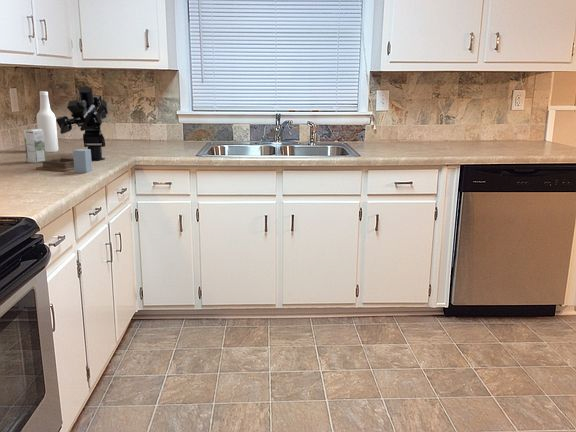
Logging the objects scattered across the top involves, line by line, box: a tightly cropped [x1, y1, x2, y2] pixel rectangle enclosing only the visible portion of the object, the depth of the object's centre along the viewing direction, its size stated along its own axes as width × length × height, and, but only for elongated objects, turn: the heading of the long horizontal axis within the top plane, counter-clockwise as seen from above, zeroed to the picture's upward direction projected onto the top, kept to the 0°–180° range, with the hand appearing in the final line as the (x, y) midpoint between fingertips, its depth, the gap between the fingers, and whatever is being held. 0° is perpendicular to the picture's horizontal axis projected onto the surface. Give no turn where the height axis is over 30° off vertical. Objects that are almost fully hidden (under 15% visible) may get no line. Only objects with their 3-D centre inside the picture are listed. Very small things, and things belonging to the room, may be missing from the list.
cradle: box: [35, 157, 75, 173], centre depth 216 cm, size 15×15×3 cm
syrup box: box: [23, 128, 47, 164], centre depth 229 cm, size 6×6×14 cm
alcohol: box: [36, 91, 59, 153], centre depth 260 cm, size 9×9×30 cm
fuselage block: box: [72, 148, 93, 174], centre depth 208 cm, size 5×5×9 cm
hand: (71, 131), depth 212 cm, fingers open, 9 cm apart
